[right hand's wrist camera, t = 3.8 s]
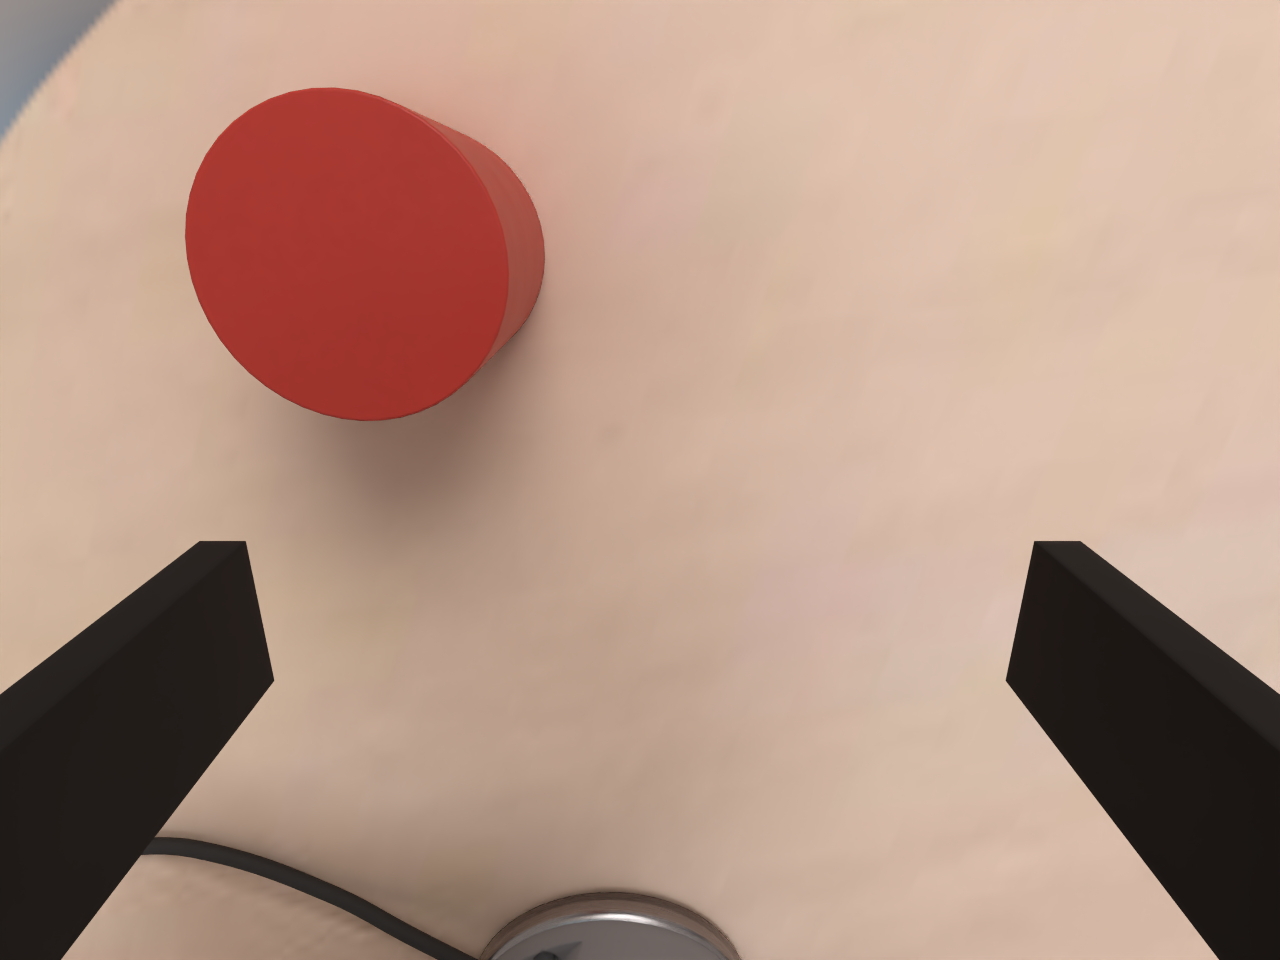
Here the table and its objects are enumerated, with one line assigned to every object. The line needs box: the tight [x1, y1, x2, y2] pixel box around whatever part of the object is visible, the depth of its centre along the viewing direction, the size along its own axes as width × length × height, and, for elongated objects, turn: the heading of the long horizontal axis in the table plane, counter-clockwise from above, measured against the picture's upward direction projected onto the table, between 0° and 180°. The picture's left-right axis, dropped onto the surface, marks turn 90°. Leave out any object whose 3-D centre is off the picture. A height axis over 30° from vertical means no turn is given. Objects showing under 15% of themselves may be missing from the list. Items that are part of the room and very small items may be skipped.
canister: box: [185, 88, 545, 421], centre depth 24 cm, size 9×9×9 cm
